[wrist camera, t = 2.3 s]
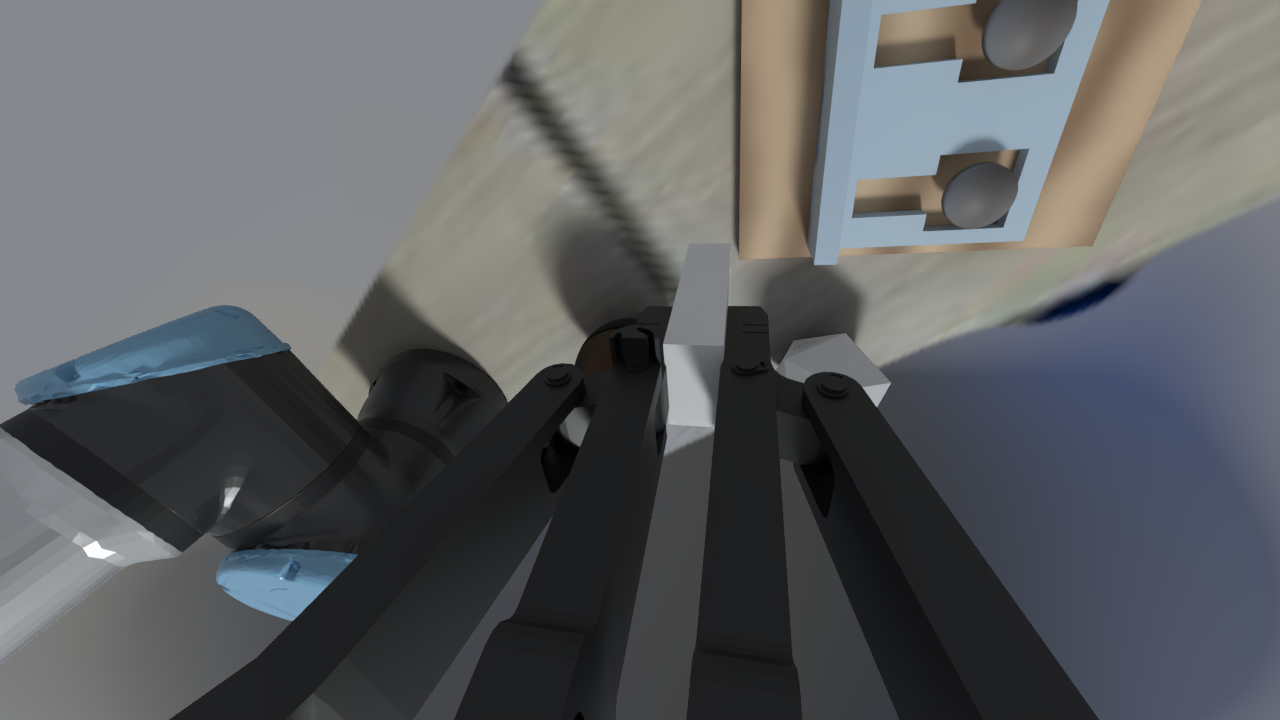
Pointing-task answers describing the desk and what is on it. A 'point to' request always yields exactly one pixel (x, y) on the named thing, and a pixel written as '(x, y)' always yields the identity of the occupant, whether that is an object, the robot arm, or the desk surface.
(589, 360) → the toy
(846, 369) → the die
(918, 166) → the panel
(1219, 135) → the desk surface
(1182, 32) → the board
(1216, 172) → the desk surface
